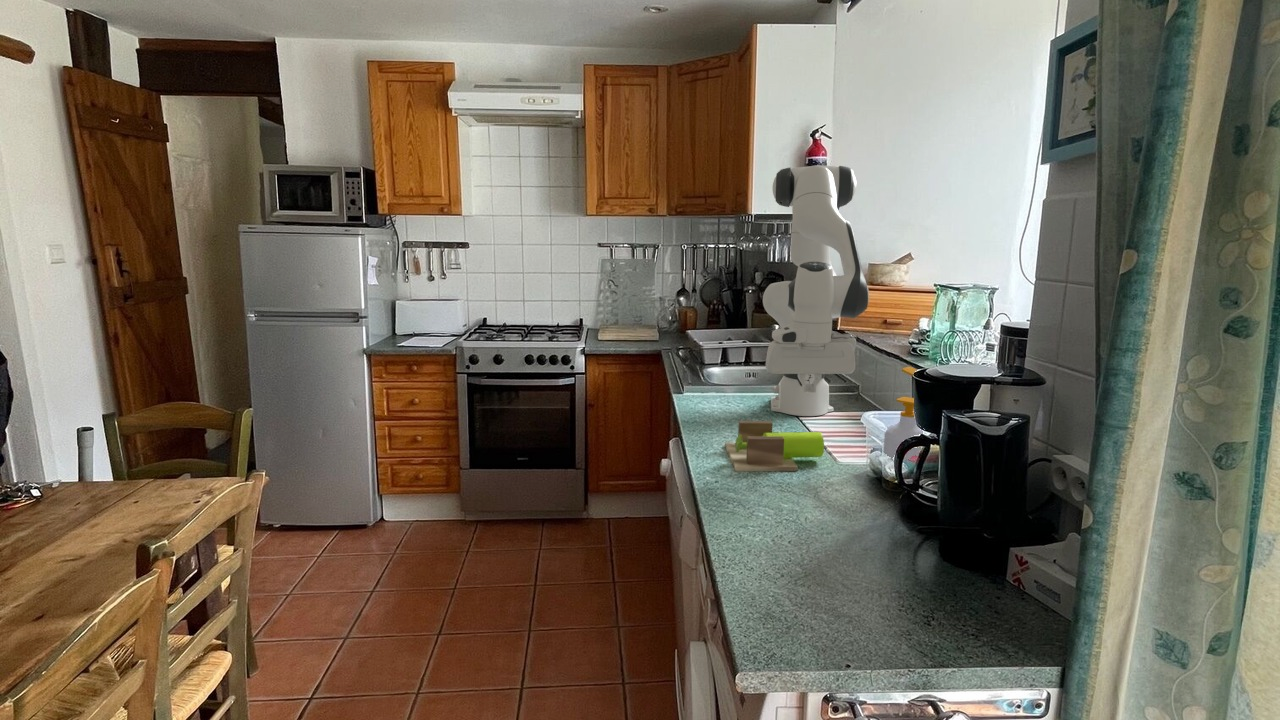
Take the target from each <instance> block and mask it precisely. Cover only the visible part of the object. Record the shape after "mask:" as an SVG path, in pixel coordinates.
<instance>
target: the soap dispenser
mask: <svg viewBox="0 0 1280 720" xmlns="http://www.w3.org/2000/svg"><path fill="white" fill-rule="evenodd" d="M763 436H769V437H783V438H784V454H783V458H792V459H794V458H822V457H823V455H824V451H825V441H824V437H823V434H822V432H821V431H795V432H793V431H791V432H790V431H789V432H772V433H764V434H763ZM734 443H735V449H736V452H739V450H747V442H743V441H742V435H741V434H740V435H739V436H738V435H737V438H736V440H735V441H734Z"/></svg>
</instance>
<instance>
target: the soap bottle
mask: <svg viewBox="0 0 1280 720" xmlns="http://www.w3.org/2000/svg"><path fill="white" fill-rule="evenodd" d="M917 370H918V369H916V368H914V367H912V366H907V367H902V368H901V372H903V373H904V374H905V373H906V374H907V375H909V376H911V377H913V373H914V372H915V371H917ZM914 398H915V397H909V396H901V397H898V398H897V399H896V402H898V403H902V406H903V407H904V410H903V411H901V412H900V414H899V415H900V417H899V422H897V423H895V424H893V425H891V426H890V427H888V428H887V429H886V430H885V432H884V441H883V452H884V453H885V454H887V456H889V457H891V459H892V458H893V457H894V455H895V451H896V448H897V446H898V445H899V444H900V443H901V442H902V441H903V440H905V439H907V438H909V437H911V436H914V435H919V434H923V431H922V430H920V429H919V428H918V427H917V426H916V423H915V418H914V412H915V411H914V408H915V407H914ZM919 450H921V447H919V448H918V447H917V448H913V449H911V450H910V451H908V453H907V454H906V457H905V459H907V461H908V459H909V458H911V457H912V456H915V455H916V456H918V453H919ZM904 462H905V461H904Z"/></svg>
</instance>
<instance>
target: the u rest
mask: <svg viewBox="0 0 1280 720" xmlns="http://www.w3.org/2000/svg"><path fill="white" fill-rule="evenodd" d="M737 428H738V430H737V431H738V432H737V437H738V436H739V435H740V434H741V435H742V441H743V442H747V450H739V452H736V449H735V442H724V447H725V450H726V452H727V455H728V457H729V460H730V461H731V464H732V466H733V468H734V471H735V472H798V470H799V469H798V468H799V467H798V465H797V463H795V460H793V459H794V458H783V454H784V438H783V437H769V436H763V434H764V433H773V422H772V420H738V427H737Z"/></svg>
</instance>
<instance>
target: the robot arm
mask: <svg viewBox="0 0 1280 720" xmlns="http://www.w3.org/2000/svg"><path fill="white" fill-rule="evenodd" d="M856 191H857V179H856V176H855V171H854V170H853V169H852V168H851V167H848V166H846V165H845V166H843V165H839V166H833V165H820V164H819V165H818V164H817V165H816V164H815V165H811V166H809V165H808V166H799V167H786V168H781V169H780V170H779V171H777V173H776V175H775V177H774V179H773V182H772V195H773V198H774V199H775V202H776V203H777V204H778V205H779V206H781V207H787V208H790V207H792V221H791V233H790V235H791V236H790V250H789V251H790V253H789V256H790V260H791V262H792V263H793V265H795V266H797V271H796V275H795V278H794V279H793V280H785V281H780V282H779V281H778V282H773V283H770V284H769V285H768V286H767V287H766V288H765V290H764V293H763V294H762V305H763V308H764V311H766V313H767V314H768V315H769V316H771V318H773V319H774V320H775V322H777V323H778V325H779V326H780V328H777V329H774V330H772V332H771V338H772V339H773V340H771V342H770V343H769V345H768V347H767V352H766V357H765V358H766V359H765V370H767V372H768V373H770V374H772V375H774V374H775V375H777V374H779V375H780V374H781V375H783V376H782V378H781V379H780V381H779V382H778V385H774V386H773V389H772V390H773V394H776V395H775V396H770V397H771V398H770V411H772V412H777V413H783V414H786V415H792V416H797V417H798V416H799V417H801V416H802V417H815V416H822V415H826V414H827V413H831V412H833V411H835V410H834V406H831V405H830V386H829V385H830V384H828V382H827V381H826V380H825V375H836V374H837V375H851V374H853V372H854V371H856V358H855V357H856V356H855V350H856V348H857V339H856V338H855V336H853V335H851V334H850V333H832V332H833V331H832V330H833V319H839V318H846V319H847V318H849V319H855V318H858V316H860V315H861V314H863V313H864V312H865V311H866V310H867V309H868V305H869V303H870V292H869V291H870V290H869V287H868V284H867V281H866V278H865V275H864V272H863V267H862V263H861V258H860V253H859V249H858V244H857V240H856V237H855V233H854V230H853V226H852V224H851V222H850V221H848V220H847V219H845V218H843V216H842V215H841V213H840V212H839V210H840V208H841V207H844V206H847V204H849V203H850V202H851V201H852V200H853V197H854V195H855V194H856ZM831 248H832V249H834V250H835V251H836V252H837V253H838V254H839V256H840V257H839V258H840V262H841V266H842V271H843V275H837V273H836V271H835V269H834V268H833V264H832V259H831Z"/></svg>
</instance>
